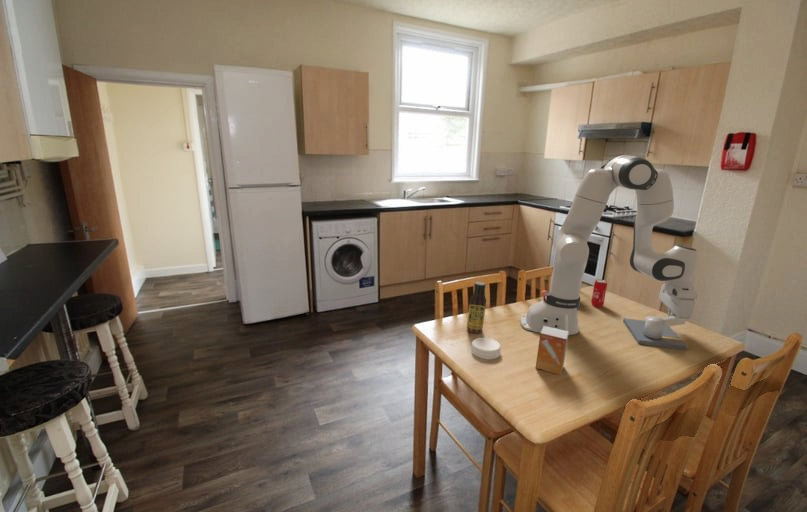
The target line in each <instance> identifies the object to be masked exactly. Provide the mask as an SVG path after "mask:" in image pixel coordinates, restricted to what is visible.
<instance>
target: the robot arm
mask: <svg viewBox="0 0 807 512" xmlns="http://www.w3.org/2000/svg"><path fill="white" fill-rule="evenodd" d="M618 187H620V188H625V189H629V190H634V191H635V194H636V214H635V216H634V222H633V236H632V238H633V241H632V251H631V254H630V258H629V265H630V267H631V269H633V270H634V271H635V272H637V273H641V274H643V275H646V276H647V277H650V278H652V279H653V280H656V281H660V282H664V284H662V285H661V288H660V291H659V294H658V295H659V296H658V298H659V301H661V303H663V305H664V306H666V307H667V317H669V316H678V317H679V318H682V319H686V320H689V319H691V318H692V315H693V312H694V309H695V303H696V302H695V300H697V299H698V293H697V291H696V289H695V286H694V283H695V279H694V275H695V274H696V272H697V268H698V263H699V252H698V250H697V249H696V248H694V247H691V246H687V245H684V244H674V246H673V247H672V248H671V249H669V250H666V251H665V252H661V253H660V252H657V251H656V250H655V249H654V248H653V246H652V243H653V242H652V240H653V236H652V235H653V228H654V227H655V226H657V225H659V224H662V223H665V222H666V221H668V220H669V219H670V218H671V216H672V215H673V214H674V209H675V202H674V201H675V200H674V191H673V185H672V181H671V177H670V174H669V173H668V171H666V170H665V169H660V168H655V167H654V165H653V164H652V163H651V162H650V161H649V160H648V159H646V158H643V157H639V156H636V155H633V154H617V155H614V156H612V157H610V158H609V159H608V160H606V162H605V163H604V164H603V165H602V166H601V167H600V168H599V167H595V168H592V169H589V170H588V171H587V172H586V173H585V175H584V177H583V179H582V180H581V182H580V183H579V185H578V188H577V189H576V192H575V195H574V197H573V200H572V203H571V205H570V208H569V210H568V213H567V215H566V217H565V219H564V221H563V223H562V225H561V227H560V229H559V231H558V234H557V236H556V238H555V242H554V247H555V257H554V258H555V259H554V265H553V270H552V274H551V280H550V286H549V287H550V288H549V291H547V290H546V289H544V290H542V291H541V294H542V296H543V299H542V300H540V301H538V302H536V303H533V304H532V305H530V306H529V308H528V310H527V312H526V313H525V314H522V315H521V317H520V320H519V323H520V326H521V327H522V329H524V330H526V331H530V332H534V333H541V331H542V329H543V326H546V327H551V328H556V329H560V330H564V331H569V335H568V336H572V335H573V336H574V335H576V334H578V333H579V331H580V330H579V329H580V328H579V323H578V322H579V321H578V318H579V316H578V313H579V309H580V307H581V297H580V295H581V289H582V282H583V278H584V274H585V270H586V268H587V264H588V259H589V254H590V248H589V245H588V241H589V239H590V238H591V236H592V234H593V232H594V230H595V229H596V227H597V226H598V225H599V222H600V220H601V219H602V215H603V213H604V210H605V208H606V206H607V204H608V201H609V198H610V196H611V194H612V193H613V191H614V190H615V189H616V188H618Z"/></svg>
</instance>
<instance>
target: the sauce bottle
mask: <svg viewBox="0 0 807 512" xmlns="http://www.w3.org/2000/svg"><path fill="white" fill-rule="evenodd" d="M473 286H474V291H473V294H472V296H470V298H469V299H470V301H469V306H468V313H467V322H466V329H467V331H468V332H469V333H473V334H478V333H479V334H480V333H481V332H482V331H483V328H484V320H485V314H486V305H487V304H486V303H487V298H486V297H485V288H486V283H485V282H483V281H475V282H474V285H473Z"/></svg>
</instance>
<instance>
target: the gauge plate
mask: <svg viewBox="0 0 807 512" xmlns="http://www.w3.org/2000/svg"><path fill="white" fill-rule="evenodd" d="M622 321H623V323H624V325H625V326H626V328H627V330H628V331H629V334H631V336H632V337H633V338H634V340H635V341H636V343H637V344H638V345H645V346H653V347H654V346H655V347H660V348H668V349H677V350H684V351H687V349H688V345H687V344H686V343H685V342H684V341H683V339H682V338H681V337H680V336H679V335H678V334H677V333H676V332H675V330H674V329H672V327H671V326H667V327H664V329H663V333H662V338H660V339H654V338H650V337H647V336H645V335H644V334H643V331H644V327H645V322H646V320H643V319H642V320H641V319H635V318H624V317H623V320H622Z"/></svg>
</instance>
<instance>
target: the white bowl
mask: <svg viewBox="0 0 807 512" xmlns="http://www.w3.org/2000/svg"><path fill="white" fill-rule="evenodd" d="M501 346H502V345H501V343H499V341H497V340H496V339H492V338H489V337H477V338H475V339H473V340H472V342H471V353H472V354H473V355H474V356H475V357H477V358H479V359H483V360H494V359H495V360H496V359H497V358H499V357H500V355H501V349H502V347H501Z"/></svg>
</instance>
